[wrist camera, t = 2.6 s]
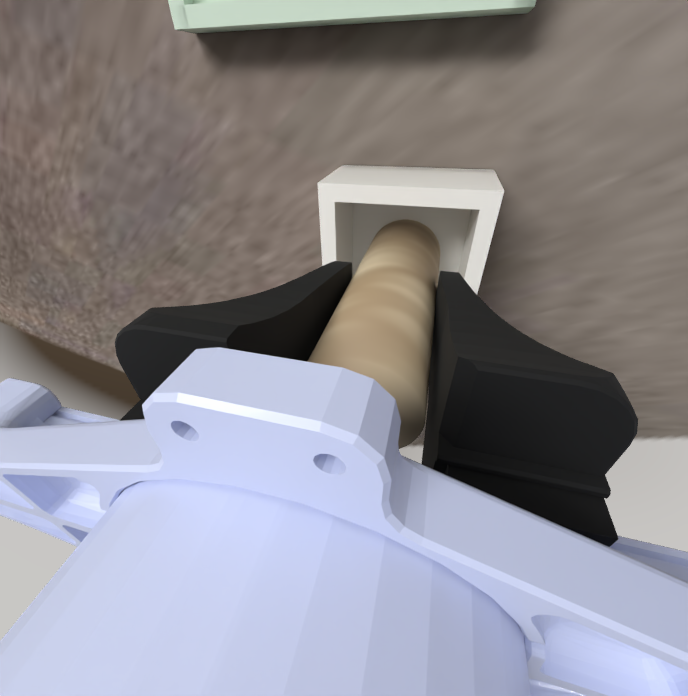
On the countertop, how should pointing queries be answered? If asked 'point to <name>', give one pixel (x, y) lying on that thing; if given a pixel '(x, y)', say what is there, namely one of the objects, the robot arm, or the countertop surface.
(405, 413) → the dowel
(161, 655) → the robot arm
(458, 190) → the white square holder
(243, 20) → the tray
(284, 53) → the countertop surface
